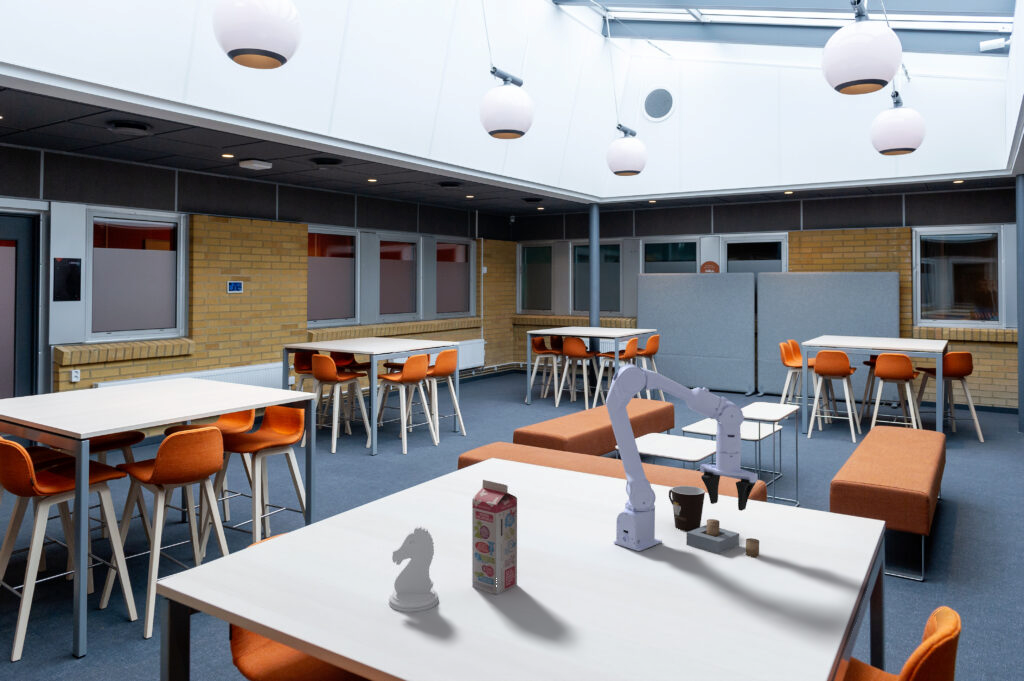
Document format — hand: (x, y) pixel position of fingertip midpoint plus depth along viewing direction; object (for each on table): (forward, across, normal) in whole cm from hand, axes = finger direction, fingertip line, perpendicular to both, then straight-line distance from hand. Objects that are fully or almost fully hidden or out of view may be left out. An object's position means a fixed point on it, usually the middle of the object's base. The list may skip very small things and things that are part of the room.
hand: (727, 506), depth 174 cm
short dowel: (+10, -8, +2) cm, 12 cm away
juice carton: (+9, +19, +59) cm, 63 cm away
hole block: (+10, +2, +3) cm, 10 cm away
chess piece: (+9, +24, +76) cm, 80 cm away
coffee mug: (+10, +15, -5) cm, 19 cm away
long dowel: (+10, +2, +3) cm, 10 cm away
